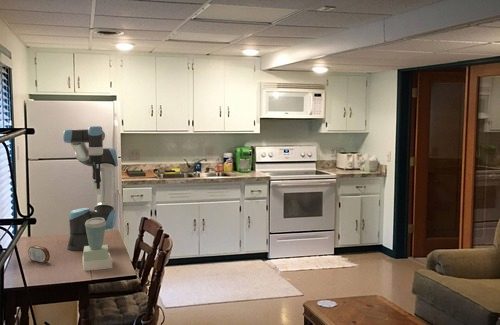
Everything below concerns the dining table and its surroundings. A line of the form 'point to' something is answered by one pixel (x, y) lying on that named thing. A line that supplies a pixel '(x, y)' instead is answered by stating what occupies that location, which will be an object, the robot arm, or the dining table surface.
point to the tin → (39, 254)
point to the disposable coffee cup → (95, 232)
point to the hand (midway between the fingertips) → (97, 192)
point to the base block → (97, 264)
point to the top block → (95, 253)
